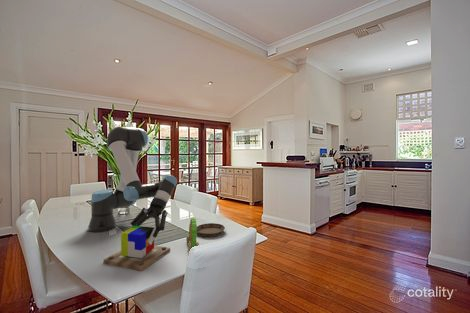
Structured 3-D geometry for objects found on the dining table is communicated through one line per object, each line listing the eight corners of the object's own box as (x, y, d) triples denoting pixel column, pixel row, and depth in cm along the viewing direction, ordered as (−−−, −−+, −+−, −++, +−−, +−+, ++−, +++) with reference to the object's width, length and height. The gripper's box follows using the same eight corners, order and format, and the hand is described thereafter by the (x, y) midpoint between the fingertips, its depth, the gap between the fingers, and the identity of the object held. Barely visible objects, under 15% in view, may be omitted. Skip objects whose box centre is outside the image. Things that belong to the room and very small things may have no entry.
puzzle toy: (141, 258, 99) (141, 235, 99) (121, 255, 101) (121, 233, 101) (154, 248, 109) (154, 227, 109) (135, 246, 111) (135, 225, 111)
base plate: (103, 263, 99) (103, 258, 99) (136, 245, 118) (136, 241, 118) (141, 271, 93) (141, 266, 93) (170, 250, 112) (170, 246, 112)
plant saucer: (199, 240, 127) (199, 234, 127) (192, 229, 143) (192, 225, 143) (229, 235, 134) (229, 230, 134) (219, 226, 150) (219, 221, 150)
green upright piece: (185, 241, 124) (186, 213, 124) (196, 240, 126) (196, 212, 125) (188, 254, 109) (188, 222, 109) (200, 252, 111) (200, 221, 110)
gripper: (182, 207, 119) (163, 248, 105) (145, 203, 126) (123, 242, 112) (176, 198, 114) (156, 241, 100) (138, 195, 121) (114, 235, 107)
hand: (138, 241), depth 106 cm, fingers closed on puzzle toy, 10 cm apart
